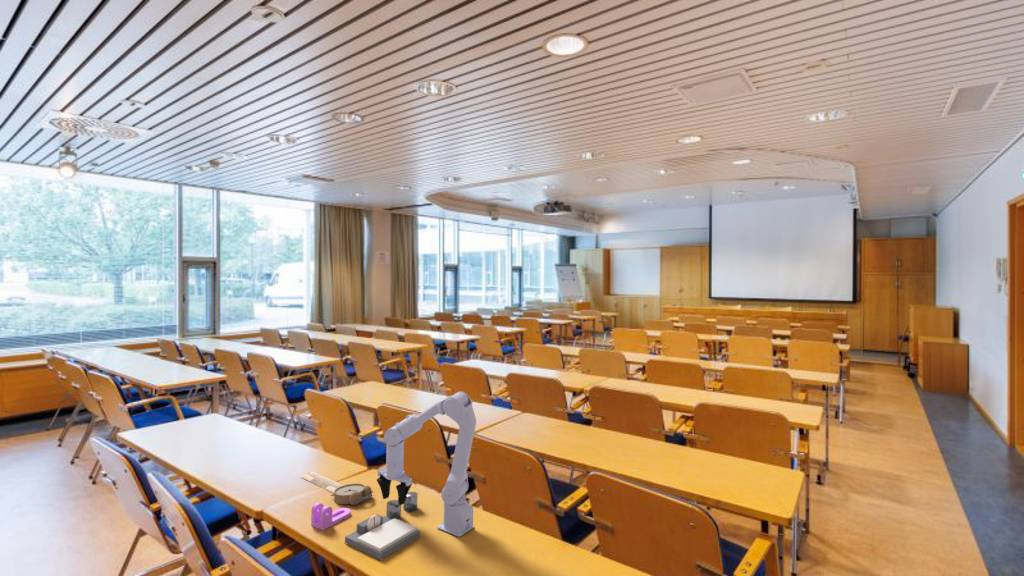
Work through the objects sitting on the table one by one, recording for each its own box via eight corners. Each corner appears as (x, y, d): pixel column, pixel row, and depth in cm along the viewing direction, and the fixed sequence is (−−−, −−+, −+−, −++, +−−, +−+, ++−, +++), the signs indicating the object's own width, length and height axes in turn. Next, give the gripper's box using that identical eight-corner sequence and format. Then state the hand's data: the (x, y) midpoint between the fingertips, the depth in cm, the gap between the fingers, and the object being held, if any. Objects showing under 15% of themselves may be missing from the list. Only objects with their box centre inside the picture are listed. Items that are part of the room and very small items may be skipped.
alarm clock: (348, 481, 188) (379, 482, 182) (350, 494, 188) (380, 496, 181) (326, 493, 178) (357, 494, 171) (327, 506, 177) (359, 508, 171)
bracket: (322, 530, 157) (323, 509, 157) (311, 526, 160) (311, 505, 160) (354, 514, 168) (354, 494, 168) (342, 510, 171) (343, 490, 171)
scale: (419, 536, 155) (420, 516, 155) (380, 560, 141) (381, 538, 141) (384, 522, 163) (385, 503, 163) (344, 543, 150) (345, 522, 150)
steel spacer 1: (403, 516, 167) (404, 502, 167) (393, 522, 163) (393, 507, 163) (393, 512, 170) (394, 498, 170) (383, 518, 166) (383, 503, 166)
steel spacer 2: (420, 507, 174) (420, 493, 174) (410, 513, 170) (410, 498, 170) (410, 504, 177) (410, 490, 177) (400, 509, 173) (400, 495, 173)
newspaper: (349, 491, 188) (349, 486, 188) (332, 497, 182) (332, 492, 182) (315, 474, 202) (315, 470, 202) (298, 480, 196) (298, 475, 196)
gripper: (418, 462, 166) (417, 502, 166) (388, 453, 174) (387, 491, 174) (403, 469, 160) (402, 510, 160) (373, 459, 168) (372, 498, 168)
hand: (393, 501), depth 167 cm, fingers open, 7 cm apart
